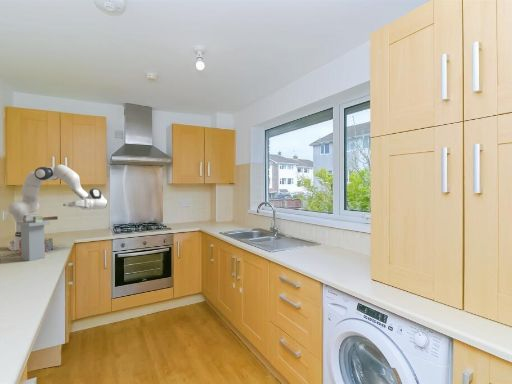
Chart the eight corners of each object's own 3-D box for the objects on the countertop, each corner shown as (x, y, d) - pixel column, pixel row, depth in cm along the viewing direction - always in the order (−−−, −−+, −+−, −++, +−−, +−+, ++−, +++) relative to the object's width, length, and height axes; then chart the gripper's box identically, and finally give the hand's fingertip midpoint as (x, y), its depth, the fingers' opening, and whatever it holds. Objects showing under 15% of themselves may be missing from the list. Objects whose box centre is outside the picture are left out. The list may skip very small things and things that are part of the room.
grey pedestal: (17, 258, 198) (16, 221, 197) (37, 254, 208) (36, 219, 207) (29, 262, 189) (29, 223, 188) (50, 257, 199) (49, 221, 199)
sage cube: (32, 222, 194) (32, 216, 194) (39, 221, 197) (39, 216, 197) (35, 222, 192) (35, 216, 192) (42, 222, 195) (42, 216, 195)
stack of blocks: (46, 249, 227) (46, 233, 226) (53, 249, 225) (52, 234, 225) (19, 255, 206) (18, 239, 205) (26, 256, 204) (25, 239, 204)
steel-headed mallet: (23, 222, 195) (22, 215, 194) (55, 219, 212) (54, 212, 212) (26, 222, 192) (26, 215, 192) (58, 219, 210) (58, 212, 209)
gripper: (81, 201, 233) (61, 201, 223) (88, 199, 218) (66, 199, 209) (81, 208, 232) (61, 209, 223) (88, 207, 218) (67, 207, 208)
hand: (64, 204), depth 216 cm, fingers open, 8 cm apart
